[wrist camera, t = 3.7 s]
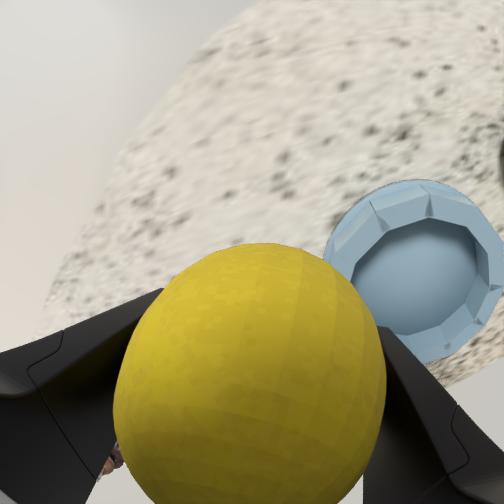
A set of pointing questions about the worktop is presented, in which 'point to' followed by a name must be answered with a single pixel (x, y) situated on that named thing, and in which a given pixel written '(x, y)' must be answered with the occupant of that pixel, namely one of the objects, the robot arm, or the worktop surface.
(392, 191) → the dish
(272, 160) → the worktop surface
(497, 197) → the worktop surface
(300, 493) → the lemon
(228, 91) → the worktop surface
